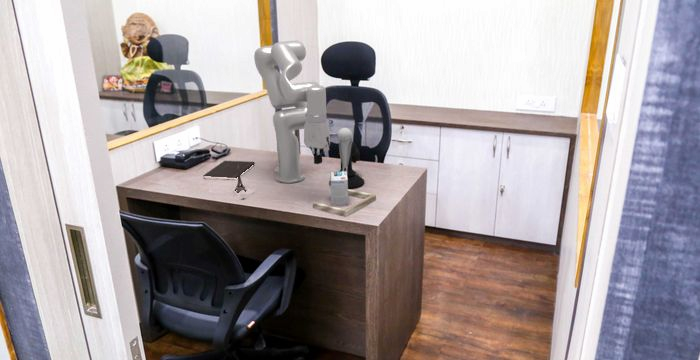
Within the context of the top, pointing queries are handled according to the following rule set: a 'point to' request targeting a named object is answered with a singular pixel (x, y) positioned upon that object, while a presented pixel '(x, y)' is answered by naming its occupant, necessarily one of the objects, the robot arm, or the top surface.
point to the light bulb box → (339, 188)
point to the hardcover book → (229, 169)
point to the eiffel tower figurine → (239, 187)
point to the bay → (345, 212)
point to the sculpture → (349, 158)
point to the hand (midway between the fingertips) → (318, 163)
